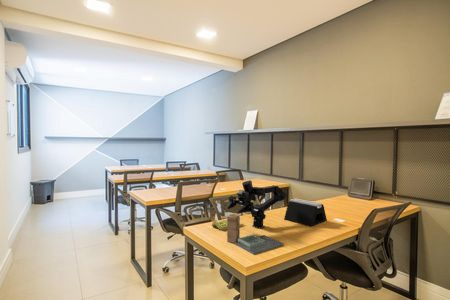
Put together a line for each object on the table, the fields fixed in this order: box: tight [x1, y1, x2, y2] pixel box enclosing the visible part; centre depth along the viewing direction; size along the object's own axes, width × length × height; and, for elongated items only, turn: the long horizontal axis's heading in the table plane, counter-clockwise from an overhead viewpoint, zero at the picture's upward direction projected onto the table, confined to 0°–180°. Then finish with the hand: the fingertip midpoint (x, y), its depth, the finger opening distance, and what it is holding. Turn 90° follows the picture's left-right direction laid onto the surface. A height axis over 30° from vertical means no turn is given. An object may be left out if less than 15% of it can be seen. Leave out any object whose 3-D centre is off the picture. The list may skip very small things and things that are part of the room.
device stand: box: [283, 197, 328, 228], centre depth 191 cm, size 22×22×15 cm
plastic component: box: [211, 212, 238, 231], centre depth 178 cm, size 20×7×10 cm
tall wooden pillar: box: [226, 213, 241, 244], centre depth 149 cm, size 6×6×15 cm
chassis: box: [235, 234, 284, 255], centre depth 144 cm, size 22×16×3 cm
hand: (232, 210), depth 159 cm, fingers open, 9 cm apart
